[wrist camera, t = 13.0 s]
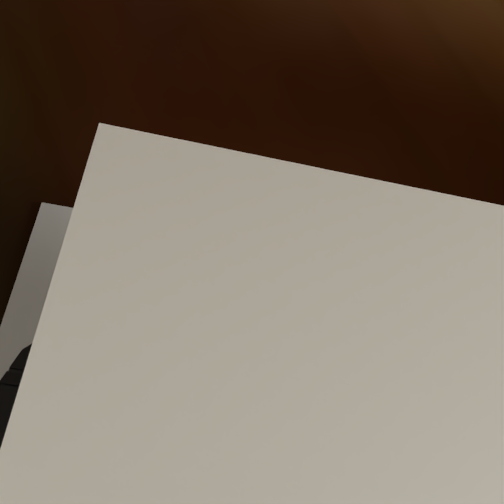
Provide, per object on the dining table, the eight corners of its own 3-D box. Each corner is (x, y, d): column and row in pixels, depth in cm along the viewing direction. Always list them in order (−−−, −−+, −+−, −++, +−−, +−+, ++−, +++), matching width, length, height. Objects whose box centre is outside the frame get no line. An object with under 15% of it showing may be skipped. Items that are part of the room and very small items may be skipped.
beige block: (132, 326, 15) (99, 122, 6) (311, 354, 16) (531, 211, 6) (85, 542, 12) (-99, 772, 3) (300, 562, 13) (622, 796, 4)
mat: (44, 207, 17) (41, 202, 17) (405, 272, 19) (410, 268, 19) (-122, 709, 12) (-131, 717, 11) (417, 734, 13) (424, 742, 13)
